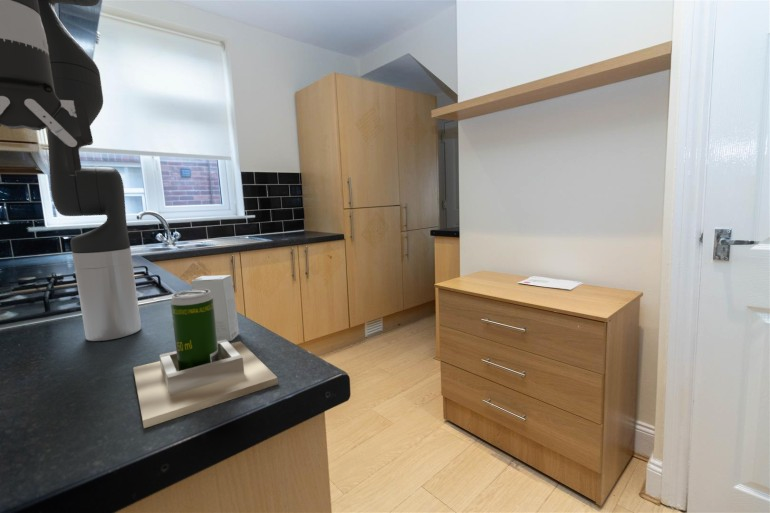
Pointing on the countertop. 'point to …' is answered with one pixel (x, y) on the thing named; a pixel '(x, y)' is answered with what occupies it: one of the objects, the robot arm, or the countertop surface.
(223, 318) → the skincare box
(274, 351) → the countertop surface
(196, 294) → the beer can
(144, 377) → the socket plate
